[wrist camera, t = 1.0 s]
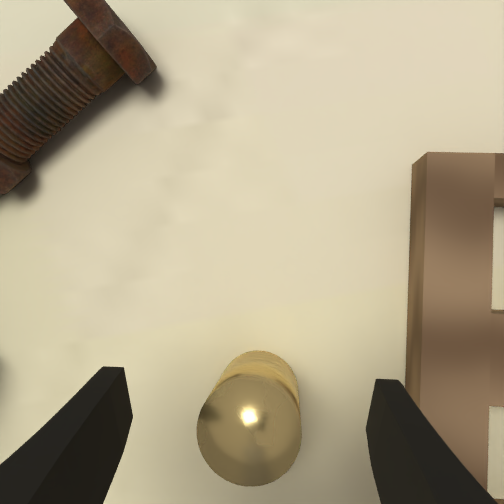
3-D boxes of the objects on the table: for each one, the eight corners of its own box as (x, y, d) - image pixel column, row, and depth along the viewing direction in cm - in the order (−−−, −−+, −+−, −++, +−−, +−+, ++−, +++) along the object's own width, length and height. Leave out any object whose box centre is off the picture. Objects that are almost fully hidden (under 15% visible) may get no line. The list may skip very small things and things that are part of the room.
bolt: (-26, 204, 27) (143, 51, 26) (-17, 255, 24) (173, 85, 23) (-130, 152, 22) (71, -39, 21) (-134, 207, 19) (98, -10, 18)
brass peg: (296, 432, 23) (299, 491, 17) (218, 426, 23) (194, 481, 17) (299, 353, 23) (303, 383, 17) (222, 348, 23) (199, 376, 17)
